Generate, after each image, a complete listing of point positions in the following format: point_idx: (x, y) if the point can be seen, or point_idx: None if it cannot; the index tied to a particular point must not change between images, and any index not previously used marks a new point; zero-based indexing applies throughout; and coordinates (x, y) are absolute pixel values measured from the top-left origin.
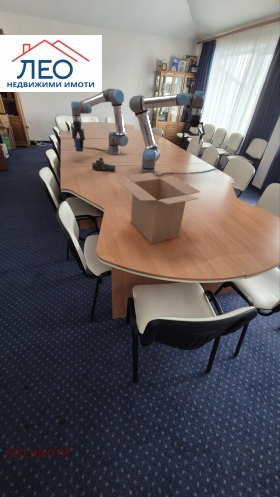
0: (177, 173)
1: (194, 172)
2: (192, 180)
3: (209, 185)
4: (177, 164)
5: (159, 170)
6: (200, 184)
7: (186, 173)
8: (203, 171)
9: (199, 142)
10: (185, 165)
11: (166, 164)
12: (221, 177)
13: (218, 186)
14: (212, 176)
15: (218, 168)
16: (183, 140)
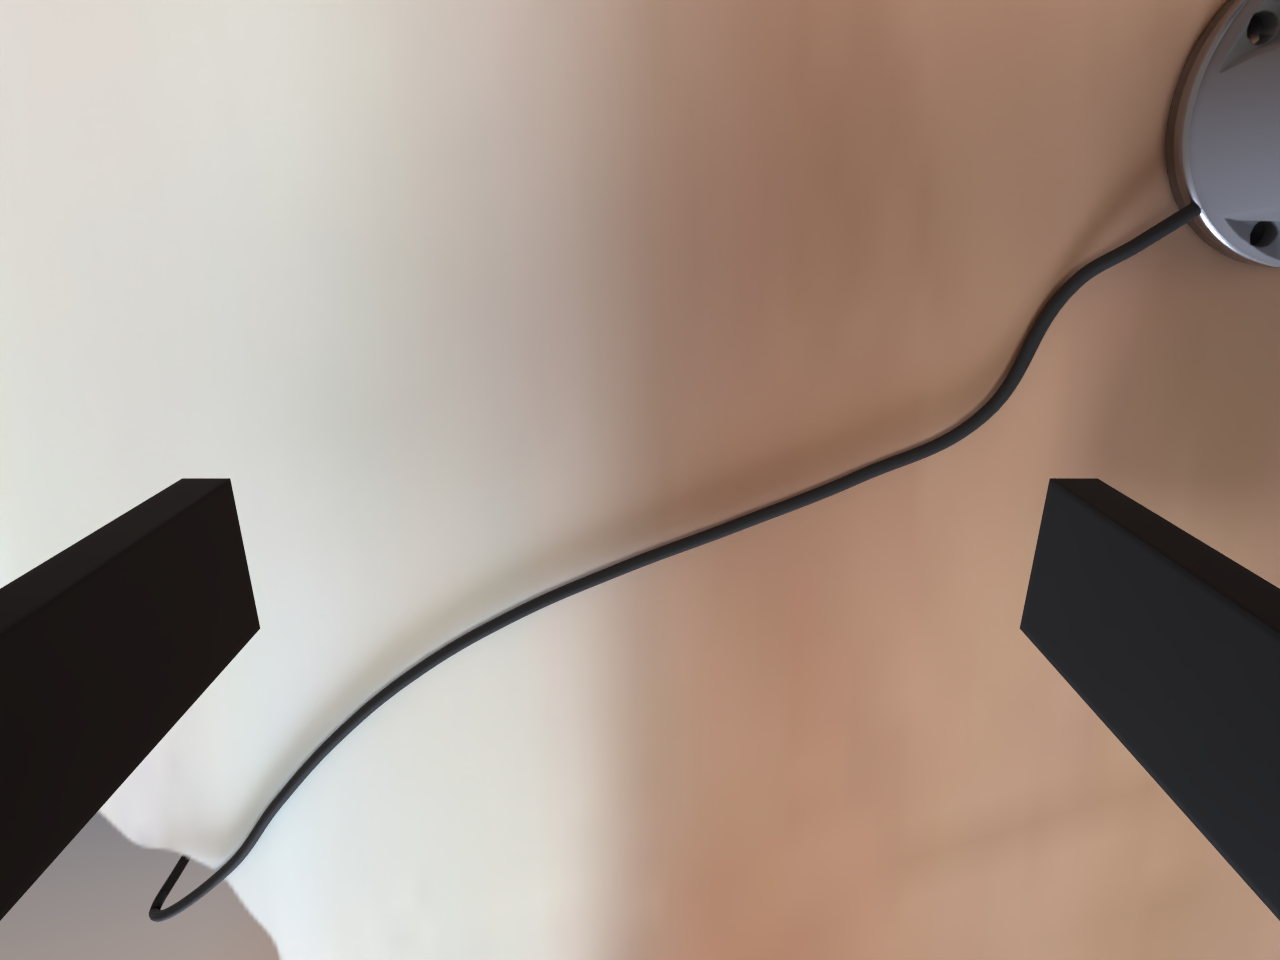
0: None
1: (489, 627)
2: (499, 250)
3: (186, 84)
4: (758, 914)
5: None
6: (345, 77)
7: None
8: (356, 719)
9: (147, 510)
10: (640, 911)
11: (924, 863)
12: None
13: (28, 90)
14: None
15: (157, 912)
16: (1127, 518)
